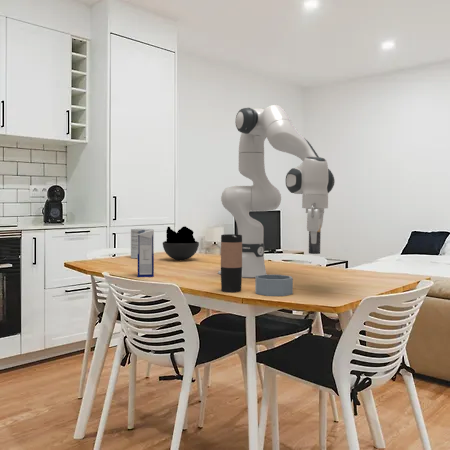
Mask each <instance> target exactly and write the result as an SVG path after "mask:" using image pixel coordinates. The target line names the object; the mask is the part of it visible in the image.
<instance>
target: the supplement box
mask: <svg viewBox="0 0 450 450" xmlns="http://www.w3.org/2000/svg"><path fill="white" fill-rule="evenodd" d="M141 230H145V231H149V230H154V229H153V228H131V229H130V259H135V258H137V259H136V260H138V234H139V233H138V231H141Z"/></svg>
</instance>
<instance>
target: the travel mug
mask: <svg viewBox="0 0 450 450" xmlns="http://www.w3.org/2000/svg"><path fill="white" fill-rule="evenodd" d="M220 271H221V274H220V285H221V287H220V288H221V290H220V291H221V292H224V293H239V292H241V291H242V284H243V283H242V280H243V279H242V278H243V277H242V235H238V233H237V234H236V233H235V234H233V233H232V234H221V237H220Z"/></svg>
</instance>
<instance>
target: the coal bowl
mask: <svg viewBox="0 0 450 450" xmlns="http://www.w3.org/2000/svg"><path fill="white" fill-rule="evenodd" d="M199 247H200V242H198V240H196V239H195V237H194V231H193V230H192V229H190V228H188V227H187V226H185V225H184V226H182V227H181V228H180V229H178V230H177V232H176V231H175V230H173V229H171V227H170V226H167V228H166V240H165V241H163V242H162V248H163V250H164V252H165V254H166V255H167V256H168V257H170V259H173V260H175V261H180V260H181V261H186V260H189V259H191V258H192V257H193V256H195V255H196V253H197V252H198V250H199Z"/></svg>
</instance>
